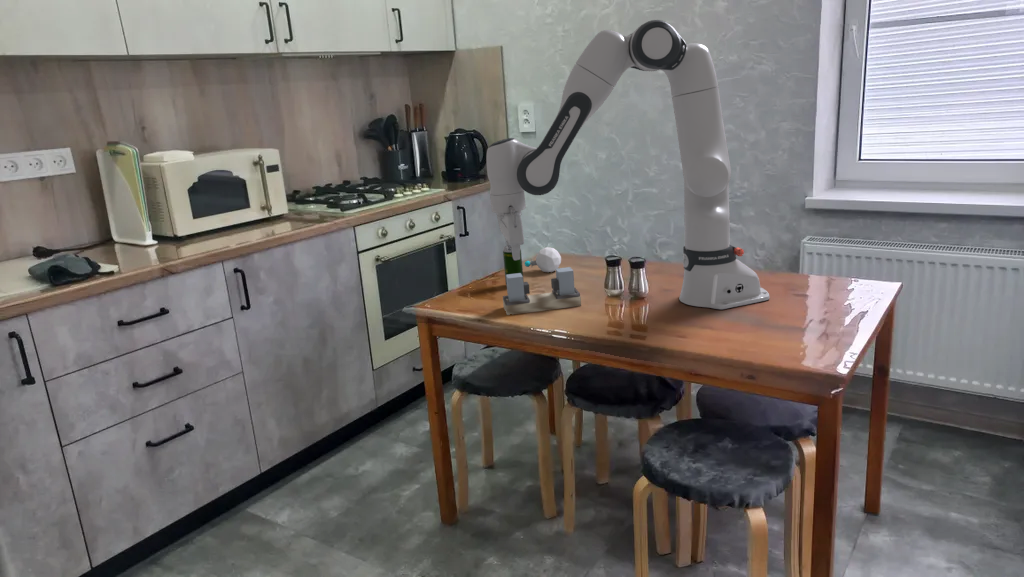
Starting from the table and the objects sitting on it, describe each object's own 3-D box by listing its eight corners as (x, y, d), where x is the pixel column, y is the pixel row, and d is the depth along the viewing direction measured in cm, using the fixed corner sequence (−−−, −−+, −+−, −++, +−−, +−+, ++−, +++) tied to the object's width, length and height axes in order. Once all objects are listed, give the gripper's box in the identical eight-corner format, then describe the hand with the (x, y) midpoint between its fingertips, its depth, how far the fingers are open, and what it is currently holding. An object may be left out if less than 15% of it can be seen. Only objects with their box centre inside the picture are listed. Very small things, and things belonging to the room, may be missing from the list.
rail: (575, 298, 194) (574, 286, 193) (581, 305, 187) (580, 294, 186) (503, 307, 191) (502, 295, 190) (507, 315, 185) (505, 303, 184)
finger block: (528, 297, 190) (526, 272, 188) (530, 301, 186) (528, 276, 184) (508, 299, 189) (505, 274, 187) (510, 303, 185) (507, 278, 183)
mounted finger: (571, 291, 191) (570, 267, 189) (574, 295, 187) (573, 270, 185) (551, 294, 191) (550, 269, 189) (554, 298, 187) (553, 273, 185)
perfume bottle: (559, 264, 216) (521, 270, 218) (564, 273, 223) (528, 279, 226) (557, 241, 218) (520, 247, 221) (562, 251, 226) (526, 257, 229)
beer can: (527, 285, 210) (524, 246, 207) (513, 289, 207) (510, 249, 204) (516, 282, 214) (512, 243, 211) (502, 286, 211) (498, 247, 208)
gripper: (526, 207, 171) (532, 262, 174) (514, 196, 190) (519, 246, 194) (501, 211, 170) (507, 266, 174) (491, 199, 189) (497, 249, 193)
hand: (513, 255), depth 184 cm, fingers open, 8 cm apart
